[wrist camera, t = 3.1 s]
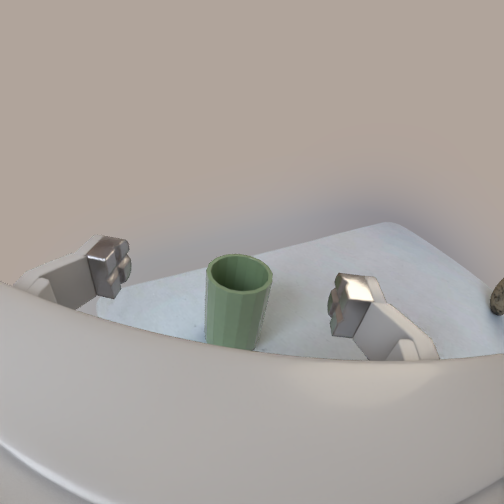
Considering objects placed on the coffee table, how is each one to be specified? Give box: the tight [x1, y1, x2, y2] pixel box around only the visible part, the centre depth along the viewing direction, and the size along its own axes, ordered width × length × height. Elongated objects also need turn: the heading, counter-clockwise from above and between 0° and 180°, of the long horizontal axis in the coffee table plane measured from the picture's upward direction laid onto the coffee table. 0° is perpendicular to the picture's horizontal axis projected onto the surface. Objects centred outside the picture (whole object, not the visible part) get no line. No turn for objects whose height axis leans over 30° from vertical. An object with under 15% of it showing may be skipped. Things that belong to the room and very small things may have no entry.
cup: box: [204, 254, 273, 351], centre depth 28 cm, size 6×6×9 cm
